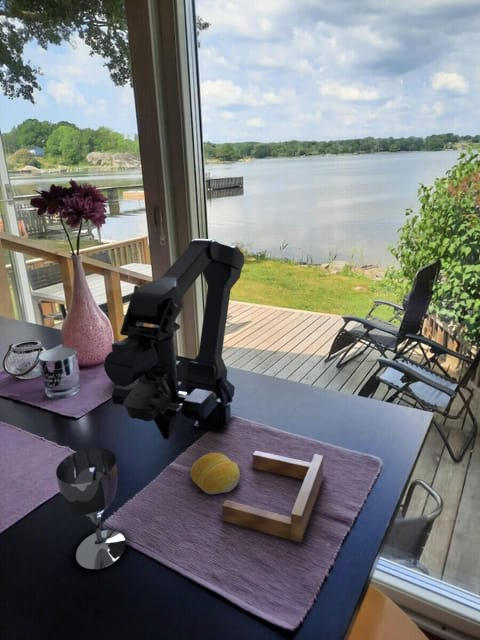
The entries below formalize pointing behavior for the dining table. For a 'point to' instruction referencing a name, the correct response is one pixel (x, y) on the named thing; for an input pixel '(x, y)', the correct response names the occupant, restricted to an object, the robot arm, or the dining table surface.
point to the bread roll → (215, 473)
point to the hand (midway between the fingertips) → (167, 438)
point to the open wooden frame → (303, 506)
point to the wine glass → (92, 502)
